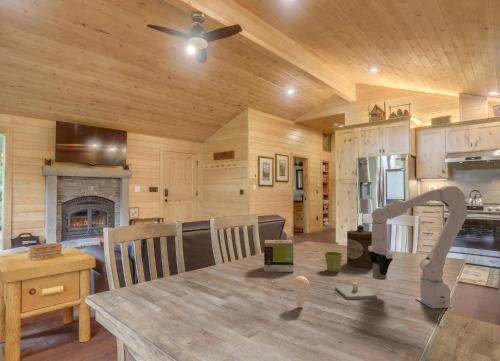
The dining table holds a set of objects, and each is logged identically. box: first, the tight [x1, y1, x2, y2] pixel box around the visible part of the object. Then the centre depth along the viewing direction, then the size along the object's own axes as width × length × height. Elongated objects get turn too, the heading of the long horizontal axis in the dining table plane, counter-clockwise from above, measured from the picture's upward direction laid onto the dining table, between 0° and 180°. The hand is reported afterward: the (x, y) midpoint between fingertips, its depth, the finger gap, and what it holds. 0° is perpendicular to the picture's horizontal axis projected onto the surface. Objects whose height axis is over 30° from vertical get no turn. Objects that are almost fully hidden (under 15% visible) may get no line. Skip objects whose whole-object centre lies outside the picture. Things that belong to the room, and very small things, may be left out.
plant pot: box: [323, 251, 344, 273], centre depth 153 cm, size 9×9×9 cm
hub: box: [372, 261, 387, 281], centre depth 117 cm, size 5×5×6 cm
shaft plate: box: [334, 281, 378, 300], centre depth 119 cm, size 12×12×4 cm
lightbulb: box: [291, 275, 310, 309], centre depth 105 cm, size 6×6×11 cm
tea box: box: [263, 239, 295, 273], centre depth 154 cm, size 15×10×15 cm
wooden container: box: [346, 224, 373, 269], centre depth 165 cm, size 15×15×22 cm
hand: (379, 272), depth 117 cm, fingers closed on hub, 5 cm apart
